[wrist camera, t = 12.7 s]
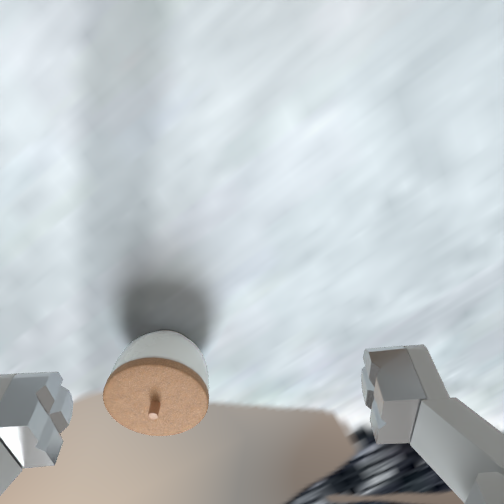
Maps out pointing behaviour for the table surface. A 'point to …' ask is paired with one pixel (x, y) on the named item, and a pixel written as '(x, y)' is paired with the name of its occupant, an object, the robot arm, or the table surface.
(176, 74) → the table surface
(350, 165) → the table surface
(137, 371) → the lidded jar
